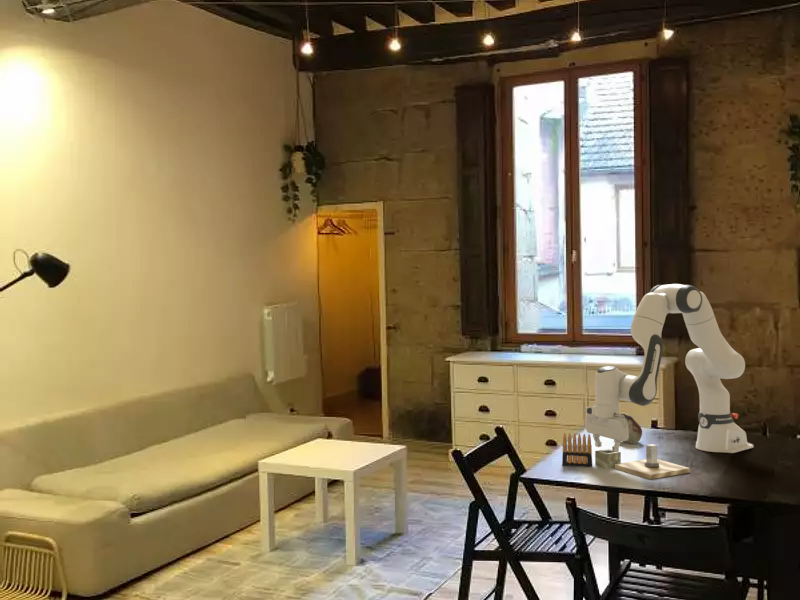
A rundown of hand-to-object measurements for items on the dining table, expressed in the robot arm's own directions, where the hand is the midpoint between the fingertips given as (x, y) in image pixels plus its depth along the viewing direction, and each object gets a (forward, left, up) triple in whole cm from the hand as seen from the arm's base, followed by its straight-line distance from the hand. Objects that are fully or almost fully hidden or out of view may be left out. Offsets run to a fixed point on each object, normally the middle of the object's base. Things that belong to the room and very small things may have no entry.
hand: (606, 449), depth 317 cm
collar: (0, 0, -6) cm, 6 cm away
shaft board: (-8, +14, -6) cm, 17 cm away
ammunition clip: (+10, -5, -6) cm, 12 cm away
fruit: (-32, -25, -6) cm, 41 cm away
